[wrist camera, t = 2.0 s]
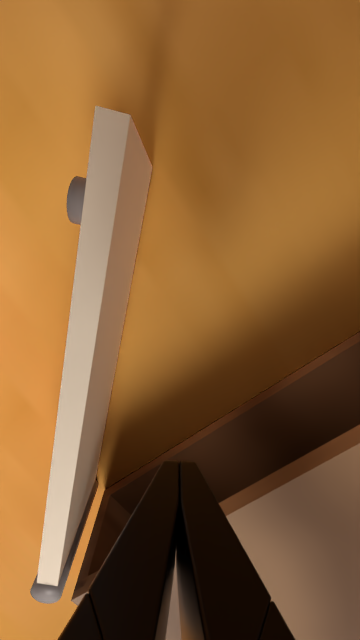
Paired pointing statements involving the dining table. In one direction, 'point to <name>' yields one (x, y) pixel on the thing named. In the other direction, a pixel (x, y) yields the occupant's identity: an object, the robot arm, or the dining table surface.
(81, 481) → the door
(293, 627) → the walnut box
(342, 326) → the dining table surface
